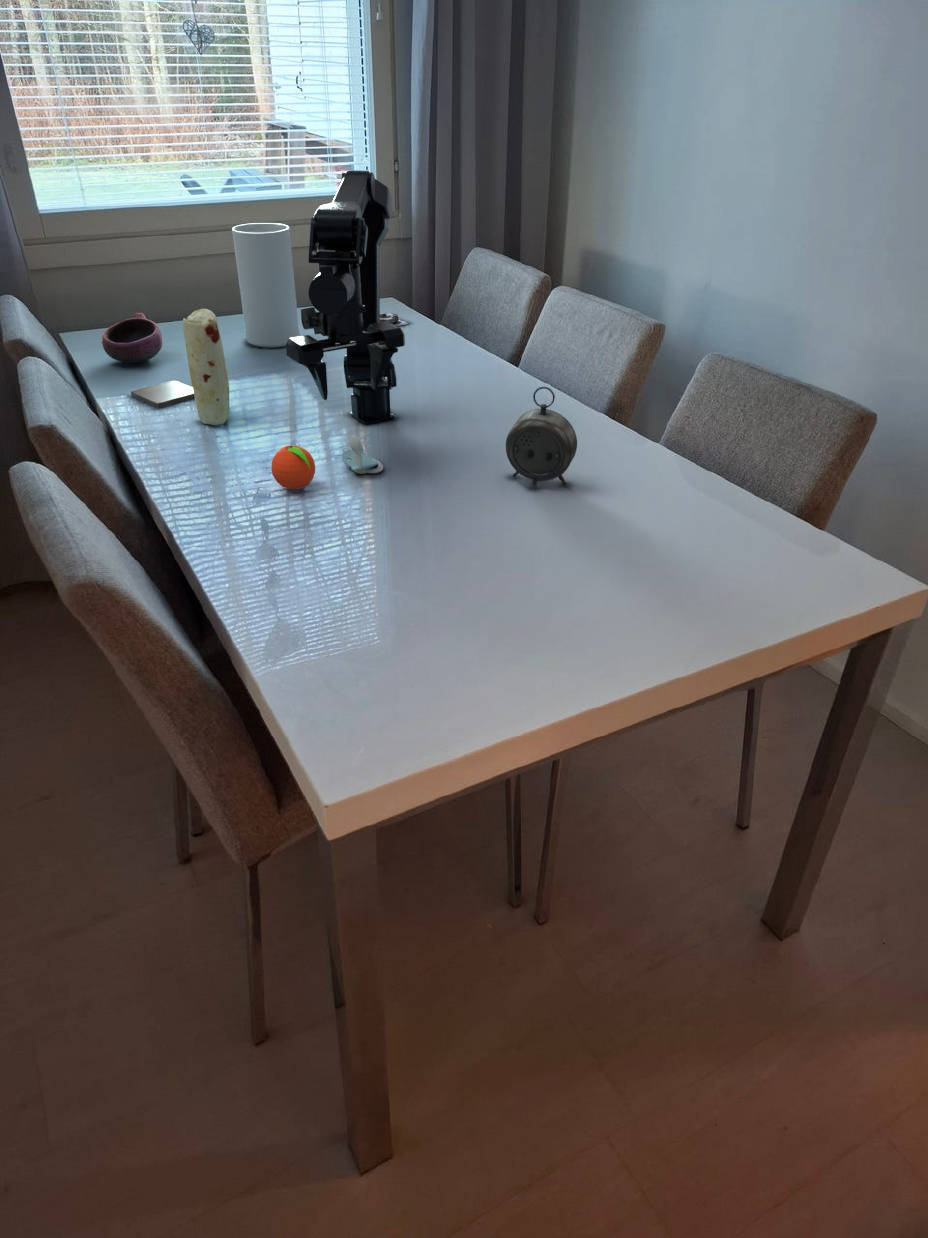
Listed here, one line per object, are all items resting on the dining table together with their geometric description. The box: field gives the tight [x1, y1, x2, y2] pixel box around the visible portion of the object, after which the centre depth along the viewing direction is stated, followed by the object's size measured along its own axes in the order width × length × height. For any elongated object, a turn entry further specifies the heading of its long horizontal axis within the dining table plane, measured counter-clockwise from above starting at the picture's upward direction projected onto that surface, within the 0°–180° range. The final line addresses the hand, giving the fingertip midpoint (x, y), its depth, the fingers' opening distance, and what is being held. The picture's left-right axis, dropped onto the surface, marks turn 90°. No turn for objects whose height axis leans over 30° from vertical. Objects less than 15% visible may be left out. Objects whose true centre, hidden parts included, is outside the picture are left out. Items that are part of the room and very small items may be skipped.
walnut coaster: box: [130, 379, 195, 409], centre depth 175 cm, size 10×10×1 cm
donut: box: [380, 312, 409, 327], centre depth 220 cm, size 8×8×2 cm
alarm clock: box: [505, 385, 578, 490], centre depth 137 cm, size 11×5×16 cm, turn 71°
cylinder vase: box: [231, 222, 301, 349], centre depth 200 cm, size 12×12×25 cm
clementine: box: [270, 444, 316, 491], centre depth 137 cm, size 8×7×7 cm
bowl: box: [101, 312, 164, 364], centre depth 193 cm, size 16×13×8 cm
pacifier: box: [341, 434, 384, 475], centre depth 144 cm, size 7×6×6 cm
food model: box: [182, 308, 231, 426], centre depth 159 cm, size 10×7×20 cm
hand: (349, 394), depth 144 cm, fingers open, 9 cm apart
